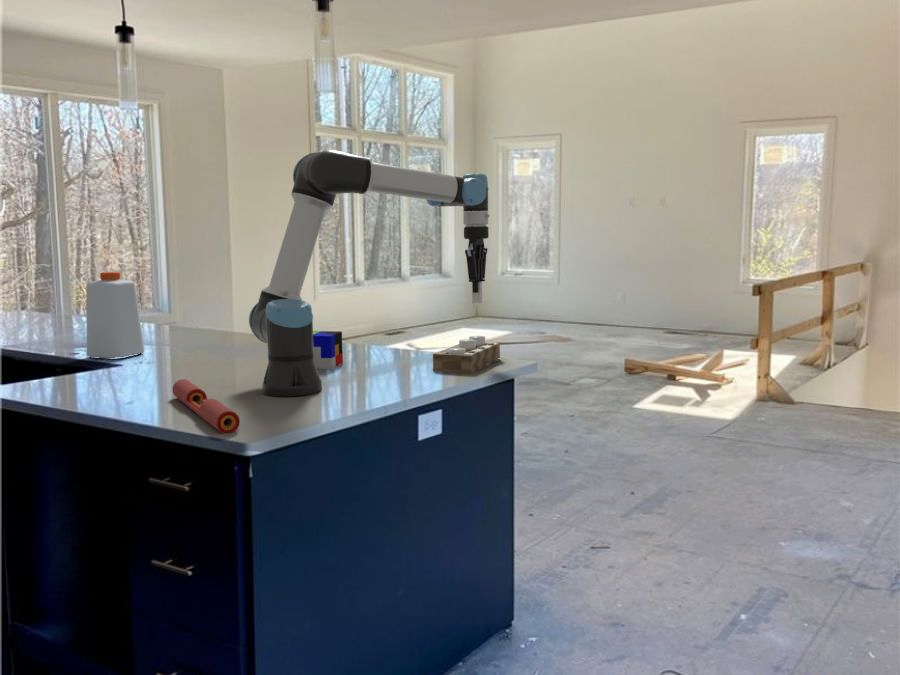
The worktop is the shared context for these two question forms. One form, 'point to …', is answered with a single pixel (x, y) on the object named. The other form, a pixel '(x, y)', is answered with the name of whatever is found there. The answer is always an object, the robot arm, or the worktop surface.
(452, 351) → the left button
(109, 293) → the plastic bottle
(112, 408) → the worktop surface
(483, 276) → the robot arm
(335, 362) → the puzzle toy
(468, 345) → the middle button
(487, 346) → the button panel
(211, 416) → the blood vessel
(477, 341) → the right button
